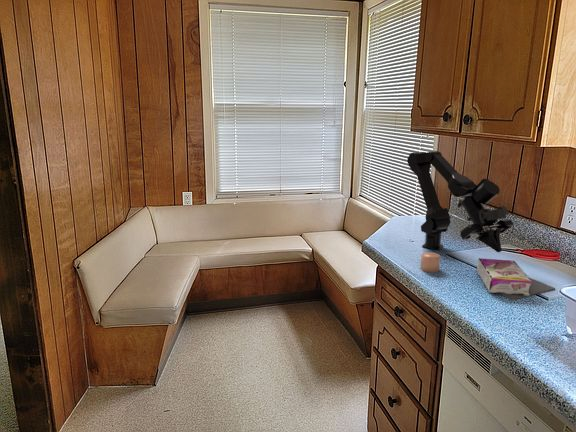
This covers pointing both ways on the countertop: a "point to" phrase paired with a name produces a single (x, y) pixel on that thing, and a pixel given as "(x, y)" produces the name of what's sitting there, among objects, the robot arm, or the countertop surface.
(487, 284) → the candy bar box
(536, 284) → the mat
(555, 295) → the countertop surface
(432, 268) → the tan short cylinder
